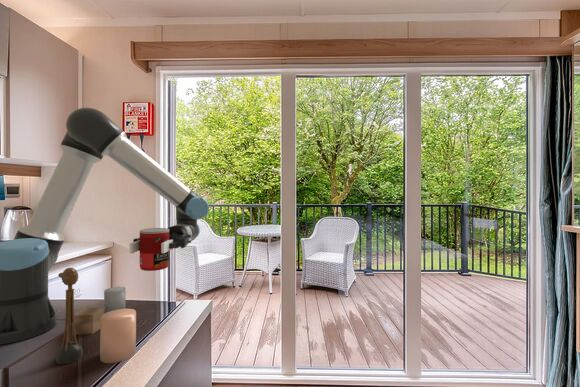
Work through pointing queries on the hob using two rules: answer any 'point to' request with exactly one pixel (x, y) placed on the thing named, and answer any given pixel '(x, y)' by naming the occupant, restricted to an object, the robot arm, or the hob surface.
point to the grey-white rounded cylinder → (114, 299)
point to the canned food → (153, 249)
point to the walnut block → (88, 320)
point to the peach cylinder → (117, 335)
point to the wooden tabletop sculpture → (69, 322)
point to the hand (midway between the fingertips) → (146, 248)
